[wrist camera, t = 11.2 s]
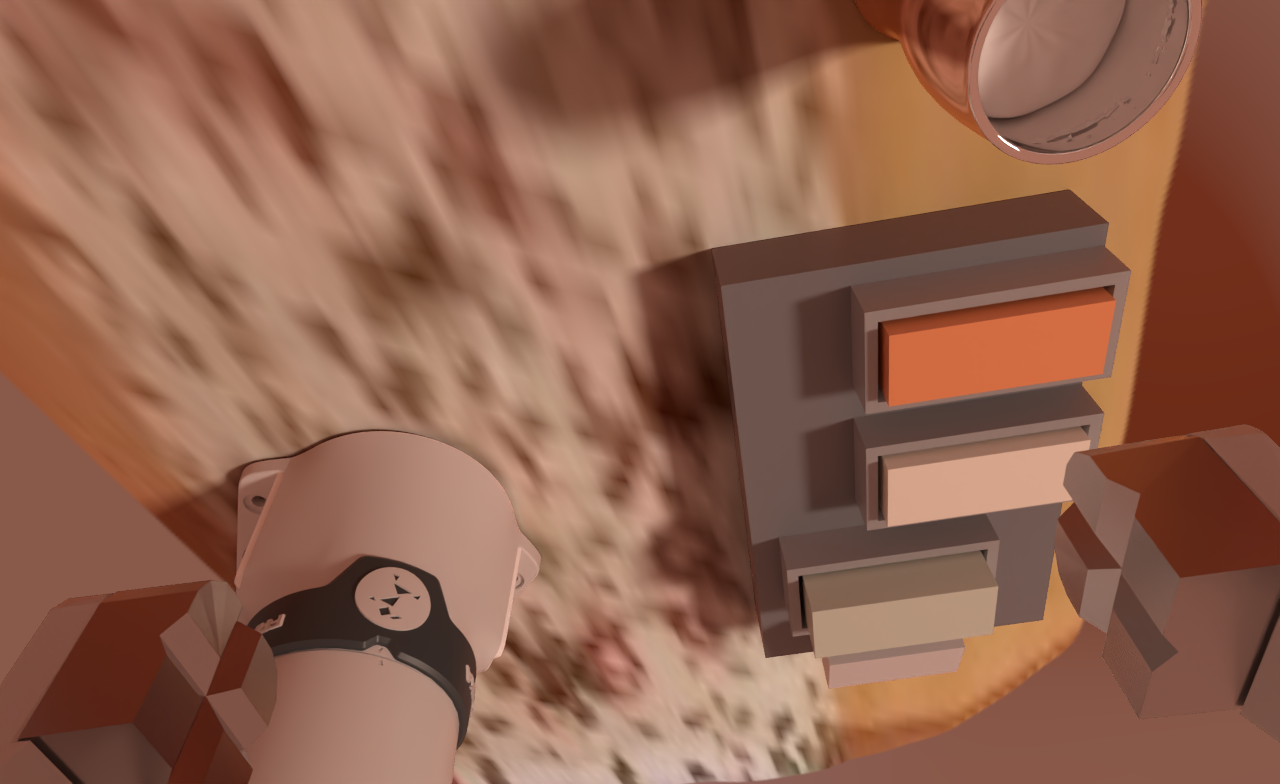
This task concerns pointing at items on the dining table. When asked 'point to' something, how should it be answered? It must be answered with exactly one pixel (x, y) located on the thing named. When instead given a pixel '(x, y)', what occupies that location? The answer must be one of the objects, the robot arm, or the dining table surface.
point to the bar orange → (994, 346)
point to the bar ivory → (977, 476)
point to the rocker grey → (893, 663)
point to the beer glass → (1045, 66)
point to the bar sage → (900, 604)
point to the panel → (855, 406)
